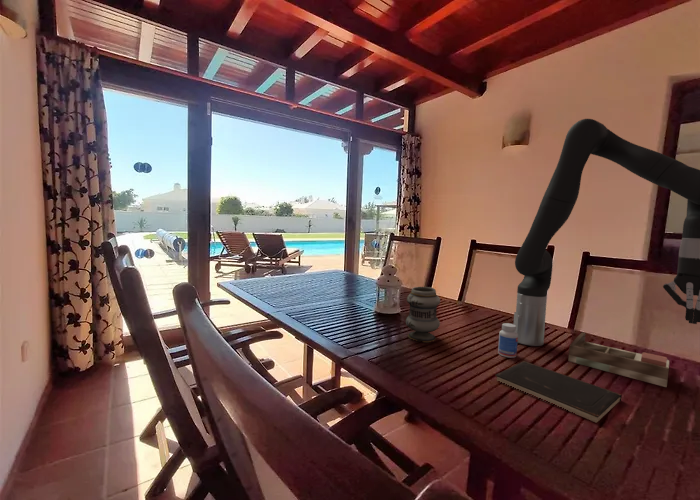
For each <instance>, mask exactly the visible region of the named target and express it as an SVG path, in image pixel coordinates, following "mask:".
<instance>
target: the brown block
mask: <svg viewBox="0 0 700 500" xmlns="http://www.w3.org/2000/svg"><path fill="white" fill-rule="evenodd" d="M641 354H642V357H641V361H642V362H646V363H651V364H655V365H659V366H663V367H666V363H667V360H668V357H667V356H663V355H658V354H653V353H649V352H644V351H642V353H641Z"/></svg>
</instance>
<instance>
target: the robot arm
mask: <svg viewBox="0 0 700 500" xmlns="http://www.w3.org/2000/svg"><path fill="white" fill-rule="evenodd" d="M591 155H593V156H598V157H600V158H603V159H606V160H609V161H611V162H613V163H614V164H617V165H619V166H621V167H623V168H624V169H626V170H627V171H629V172H630V173H632V174H634V175H636V176H638V177H639V178H642V179H643V180H646V181H648V182H649V183H651V184H655V185H656V186H659V187H661V188H664V189H668V190H669V191H671V192H673V193H675V194H676V195H679V196H680V197H682V198H685V199H686V201H687V203H686V217H685V218H684V221H683V224H682V225H683V226H682V234H681V237H682V238H681V241H680V243H679V244H680V246H679V248H678V249H679V250H678V261H677V270H676V271H677V272H676V276H675V277H673V281H670V282H668V283H664V284H663V285H662V287H663V289H664V290H665V292H666V293H667V294H669V296H670V297H671V298H672V299H673V301H674V302H675V303H676V304H677V305H679V306H682V307H684V308H685V315H684V317H685V318H684V319H685V321H688V324H693V325H697V324H698V323H700V169H699V168H697V167H692V166H689V165H687V164H685V163H684V162H682V161H680V160H677V159H675V158H674V157H673V158H672V157H670V156H668V155H666V154H663V153H661V152H658V151H655V150H652V149H650V148H647V147H644V146H641V145H638V144H635V143H633V142H630V141H628V140H626V139H624V138H623V137H620V136H619V135H618V134H616V133H615V132H614V131H612V130H610V129H608V127H606V125H604V123H601V122H599V121H597V120H595V119H592V118H583V119H580V120H578V121H575V123H574V124H572V126H571V127H570V128H569V130H567V133H566V135H565V138H564V143H563V145H562V149H561V152H560V155H559V160H558V161H557V162H558V163H557V164H556V167H555V169H554V172H553V174H552V176H551V178H550V180H549V183H548V185H547V188H546V190H545V192H544V193H543V196H542V198H541V202H540V205H539V207H538V210H537V212H536V215H535V217H534V218H533V222H532V224H531V227H530V229H529V232H528V234H527V235H526V237H525V238H524V240H523V242H522V245H521V246H520V248H519V250H518V251H517V254H516V255H515V256H516V257H515V259H514V266H515V269H516V271H517V272H518V273H519V274H521V275H522V276H523V279H522V281H521V282H520V283H518V285H517V290H516V293H517V294H516V305H515V311H514V313H513V324H514V325H516V331H515V332H516V333H517V334H518V343H517V344H522V345H526V346H531V347H540V346H543V345H544V341H545V326H546V325H545V324H546V314H547V312H546V311H547V301H548V291H549V289H550V286H551V284H552V283H551V282H552V275H553V266H554V265H553V264H554V263H553V258H552V255H551V254H550V252H549V251H547V250H546V249H547V247H548V246H549V243H550V241H552V238H553V237H554V236H555V235H556V233H557V232H558V231H559V230H560V229H561V228H562V227H563V226H564V225H565V223H567V220H568V219H569V218H570V216H571V214H572V212H573V209H574V208H575V205H576V202H577V201H578V198H579V193H580V190H581V180H582V176H583V170H584V168H585V166H586V164H587V162H588V160H589V158H590V156H591ZM676 286H677V287H678V289H679V290H680V291H681V293H683V294H684V295H685V297H686V300H684V299H682V298H681V296H680V295H679V294H678V293H677V292H676V289H677V287H676ZM694 296H697V297H696V304H695V307H694Z"/></svg>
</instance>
